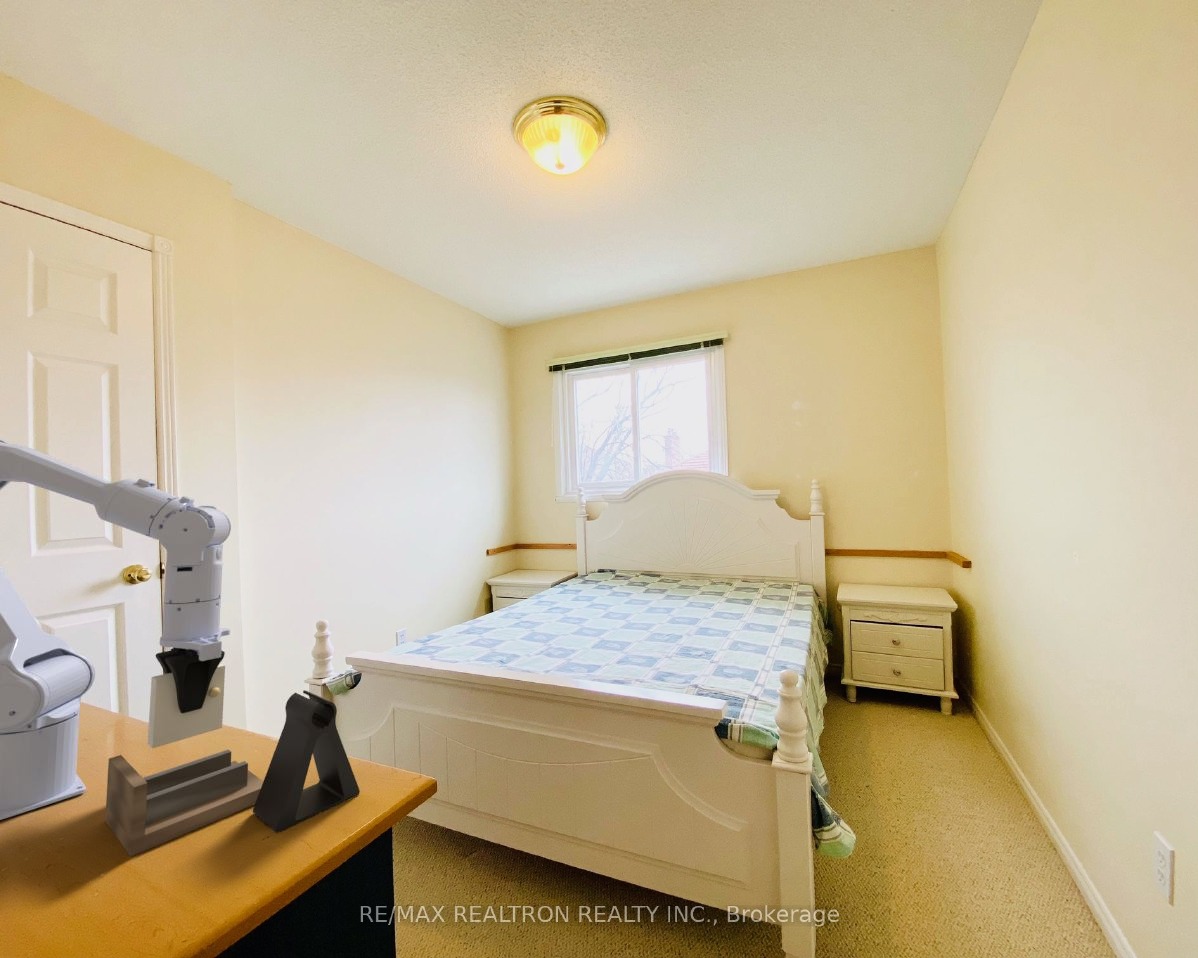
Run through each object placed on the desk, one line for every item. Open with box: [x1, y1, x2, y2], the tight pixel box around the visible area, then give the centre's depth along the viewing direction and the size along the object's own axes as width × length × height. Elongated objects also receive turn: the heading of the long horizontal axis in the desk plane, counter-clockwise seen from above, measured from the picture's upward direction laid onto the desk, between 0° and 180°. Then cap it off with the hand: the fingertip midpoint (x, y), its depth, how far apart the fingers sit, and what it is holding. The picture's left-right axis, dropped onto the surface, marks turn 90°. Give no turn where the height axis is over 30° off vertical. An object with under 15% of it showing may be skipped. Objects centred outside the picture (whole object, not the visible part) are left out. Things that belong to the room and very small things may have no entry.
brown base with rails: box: [105, 749, 264, 858], centre depth 56 cm, size 10×12×6 cm
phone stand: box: [252, 689, 361, 834], centre depth 58 cm, size 9×6×12 cm, turn 144°
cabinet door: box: [147, 663, 226, 749], centre depth 63 cm, size 3×7×8 cm, turn 145°
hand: (187, 708), depth 64 cm, fingers closed on cabinet door, 2 cm apart
